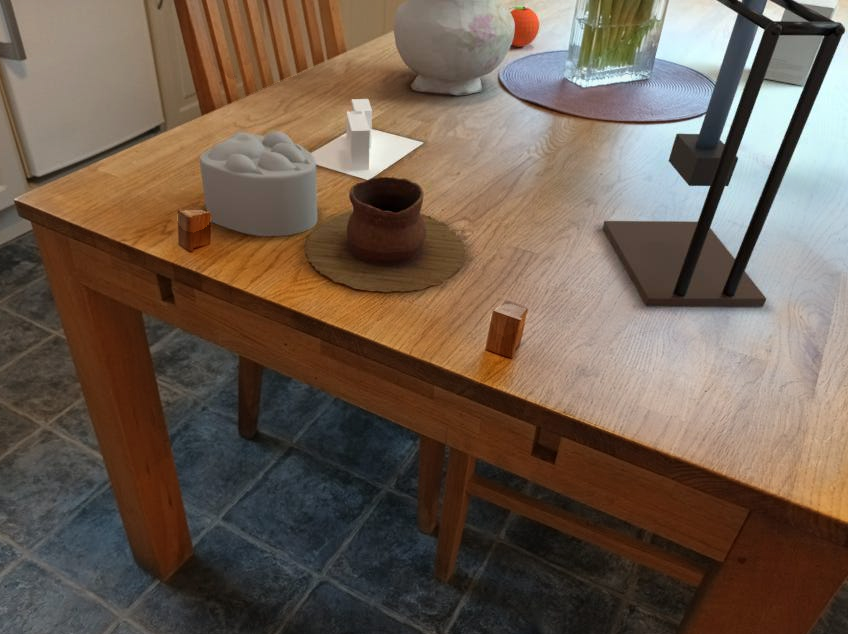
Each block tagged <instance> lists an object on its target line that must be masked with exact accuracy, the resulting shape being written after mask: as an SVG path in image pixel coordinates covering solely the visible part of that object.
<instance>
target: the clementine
mask: <svg viewBox="0 0 848 634" xmlns="http://www.w3.org/2000/svg"><path fill="white" fill-rule="evenodd" d="M510 9H513V10H511V11H510ZM508 10H509V11H510V13H511V15H512V17H513V19H514V23H515V31H514V37H513V41H512V44H511V46H514V47H517V48H522V47H526V46H528V45H530V44H532V42H533V41H535V39H536V37H537V36H538V34H539V32H540V31H539V30H540V20H539V17H538V15H537V14H536V12H535V11H533V9H532V8H528V7H526V6H513V7H510V8H508Z"/></svg>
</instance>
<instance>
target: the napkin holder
mask: <svg viewBox="0 0 848 634" xmlns="http://www.w3.org/2000/svg"><path fill="white" fill-rule="evenodd" d="M422 145H424V142H423V141H419V140H415V139H412V138H408V137H404V136H400V135H395V134H392V133H388V132H385V131H381V130H377V129H373V109H372V106H371V104H370V100H369V98H354V99H352V98H351V110H349V111H346V132H345V133H343V134H342V135H340V136H338V137H337V138H334V139H333V140H331V141H330V142H328V143H326V144H324V145H322V146H320V147H318V148H317V149H316V150H313V151H312V152H310V153H311V154H312V155H313V157H314V159H315V162H316V166H319V167H323V168H326V169H330V170H332V171H336V172H340V173H343V174H346V175H349V176H353V177H357V178H360V179H363V180H365V181H367V180H369V179H370V178H375V177H376V176H377V175H379V174H380V173H381V172H383V171H385V170H386V169H387V168H389V167H391V166H392V165H394V164H395V163H396V162H398V161H399V160H401V159H402V158H404V157H405V156H407V155H408V154H410V153H411V152H413V151H414V150H415V149H417V148H418V147H420V146H422Z"/></svg>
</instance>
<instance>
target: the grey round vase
mask: <svg viewBox="0 0 848 634" xmlns="http://www.w3.org/2000/svg"><path fill="white" fill-rule="evenodd" d="M508 9H509V8H508V7H507V6H506V4H504V2H503V1H502V0H405V1H404V2H403V3H401V4H400V5H399V6H398V8H397V10H396V12H395V17H394V22H393V35H394V42H395V47H396V49H397V51H398V54H399V56H400V59H401V60H402V61H403V63H404V64H405V65H406V67H407V68H408V69H410V70H411V71H412V72H414V73H415V74H417V76H416V78H415V79H414V80H413V81H412V83H411V84H410V87H411V89H412V90H413V91H416V92H421V93H423V92H424V93H440V94H447V95H452V96H467V95H471V94H475V93H480V92H482V89H483V87H482V82H481V79H480V77H484V76H487V75H489V74H490V73H492V72H494V70H496V69H497V68H498V67H499V66H500V65H501V64H502V62H504V59H505V58H506V56H507V55H508V53H509V51H510V49H511V46H512V45H511V44H512V41H513V37H514V31H515V23H514V19H513V17H512V15H511V13H510V12H511V11H510V9H509V10H508Z"/></svg>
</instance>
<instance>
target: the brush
mask: <svg viewBox="0 0 848 634" xmlns="http://www.w3.org/2000/svg"><path fill="white" fill-rule="evenodd" d="M741 2H742V3H743V4H745V5H747V6H749V7H750V8H752V9H754V10H755V11H757V12H759V13H761V14H762V15H764V11H765V9H766V7H767V6H766V5H767V3H768V0H741ZM758 29H759V26H757V25H756V24H754V23H753V22H751V21H749V20H748V19H746V18H744V17H743V16H741V15H740V14H738V13H737V15H736V18H735V22H734V24H733V27H732V31H731V34H730V37H729V40H728V43H727V46H726V50H725V53H724V56H723V59H722V62H721V64H720V68H719V70H718V71H719V72H718V75H717V78H716V80H715V84H714V87H713V89H712V92H711V95H710V99H709V102H708V105H707V109H706V110H705V115H704V118H703V121H702V124H701V127H700V130H699V133H676V134H675V137H674V141H673V144H672V148H671V151H670V154H669V158H668V163H669V164H671V166H672V167H673V168H674V170H675V171H676V172H677V173H678V174H679V176H680V177H681V178H682V180H684V182H685V183H686V184H687V185H688V187H710V185H711V182H712V179H713V176H714V173H715V171H716V168H717V165H718V162H719V159H720V156H721V153H722V150H723V147H724V145H725V142H723V141H722V140H721V137H722V135H723V132H724V128H725V126H726V123H727V119H728V117H729V114H730V111H731V108H732V105H733V102H734V100H735V97H736V94H737V90H738V88H739V84H740V83H741V79H742V76H743V73H744V70H745V67H746V64H747V61H748V59H749V55H750V53H751V49H752V48H753V44H754V41H755V39H756V36H757V32H758ZM738 161H739V156H737V155H736V157H735V160H734V163H733V166H732V168H731V171H730V174H729V177H728V180H727V182H726V185H725V187H729V185H730V183H731V180H732V177H733V174H734V172H735V169H736V166H737V163H738Z"/></svg>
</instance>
